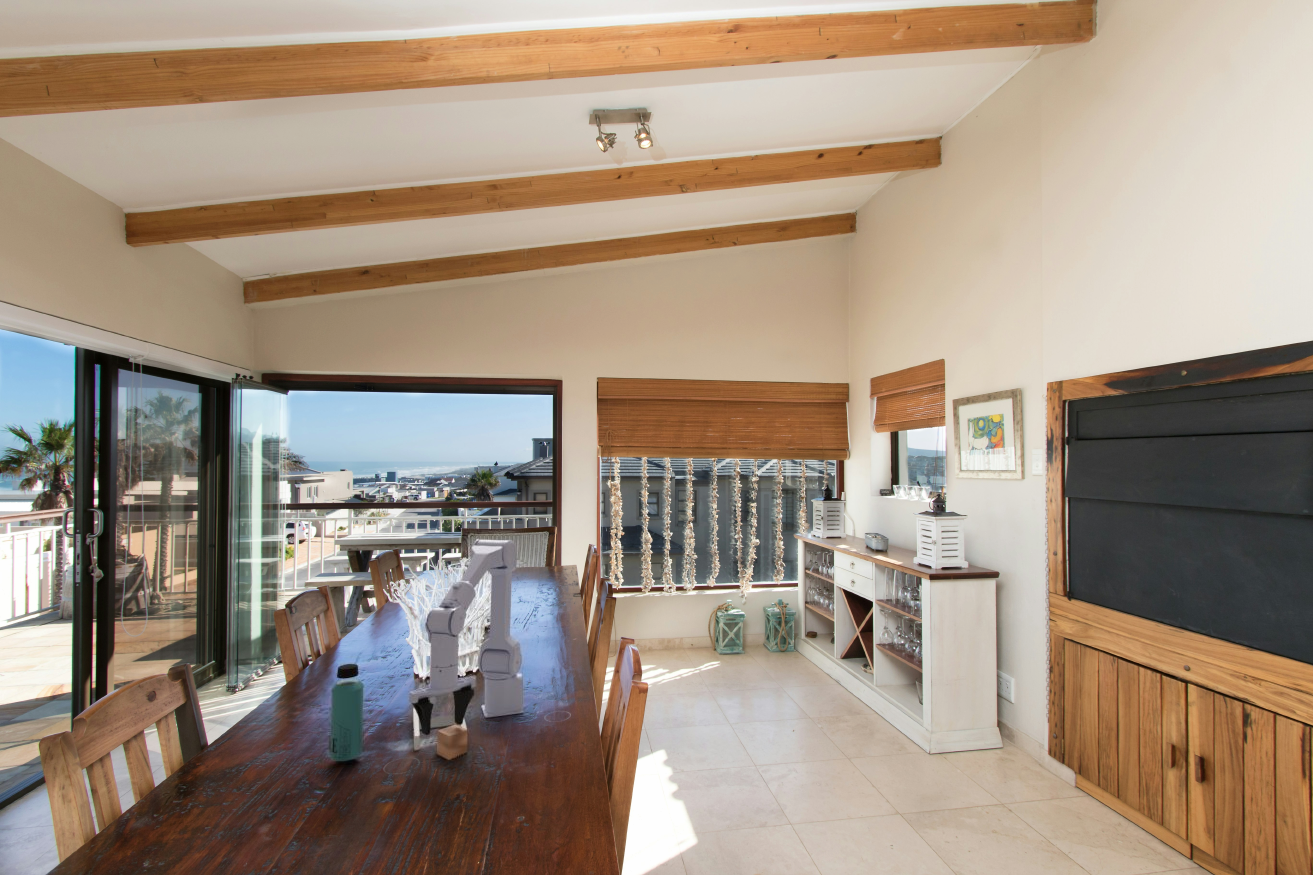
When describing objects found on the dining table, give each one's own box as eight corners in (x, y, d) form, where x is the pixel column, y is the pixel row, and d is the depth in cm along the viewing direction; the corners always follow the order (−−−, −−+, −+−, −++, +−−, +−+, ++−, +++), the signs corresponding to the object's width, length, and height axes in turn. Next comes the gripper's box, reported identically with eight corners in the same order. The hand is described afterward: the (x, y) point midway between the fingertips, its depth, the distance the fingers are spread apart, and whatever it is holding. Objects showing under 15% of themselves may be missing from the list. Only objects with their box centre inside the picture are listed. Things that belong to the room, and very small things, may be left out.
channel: (459, 714, 163) (460, 702, 163) (466, 742, 146) (466, 729, 146) (413, 720, 159) (413, 707, 159) (414, 750, 142) (414, 736, 142)
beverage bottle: (370, 757, 138) (372, 662, 139) (345, 771, 132) (348, 671, 133) (345, 753, 141) (348, 659, 141) (320, 766, 134) (323, 667, 135)
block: (455, 747, 144) (455, 724, 144) (467, 753, 141) (467, 729, 141) (436, 754, 141) (437, 730, 141) (448, 760, 138) (449, 736, 138)
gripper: (464, 653, 148) (463, 714, 148) (403, 667, 138) (401, 732, 137) (481, 659, 144) (480, 722, 143) (419, 674, 133) (417, 742, 132)
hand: (442, 728), depth 140 cm, fingers open, 7 cm apart
